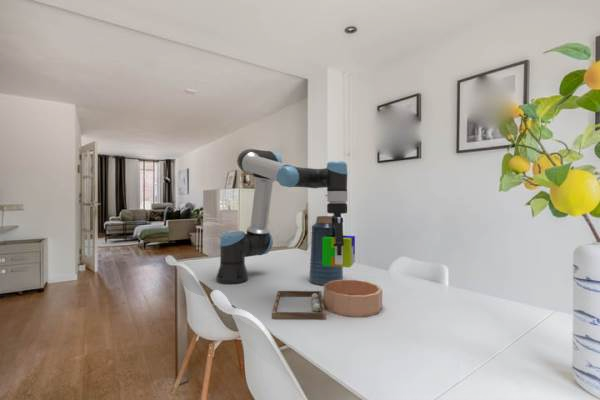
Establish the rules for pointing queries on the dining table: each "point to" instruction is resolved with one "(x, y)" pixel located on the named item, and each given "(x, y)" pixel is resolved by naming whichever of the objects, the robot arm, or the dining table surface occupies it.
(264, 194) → the robot arm
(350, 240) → the puzzle toy
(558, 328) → the dining table surface
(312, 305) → the pebble
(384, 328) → the dining table surface
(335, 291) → the bowl
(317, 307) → the pebble
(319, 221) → the blue thread spool
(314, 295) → the pebble
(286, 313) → the tray
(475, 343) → the dining table surface
